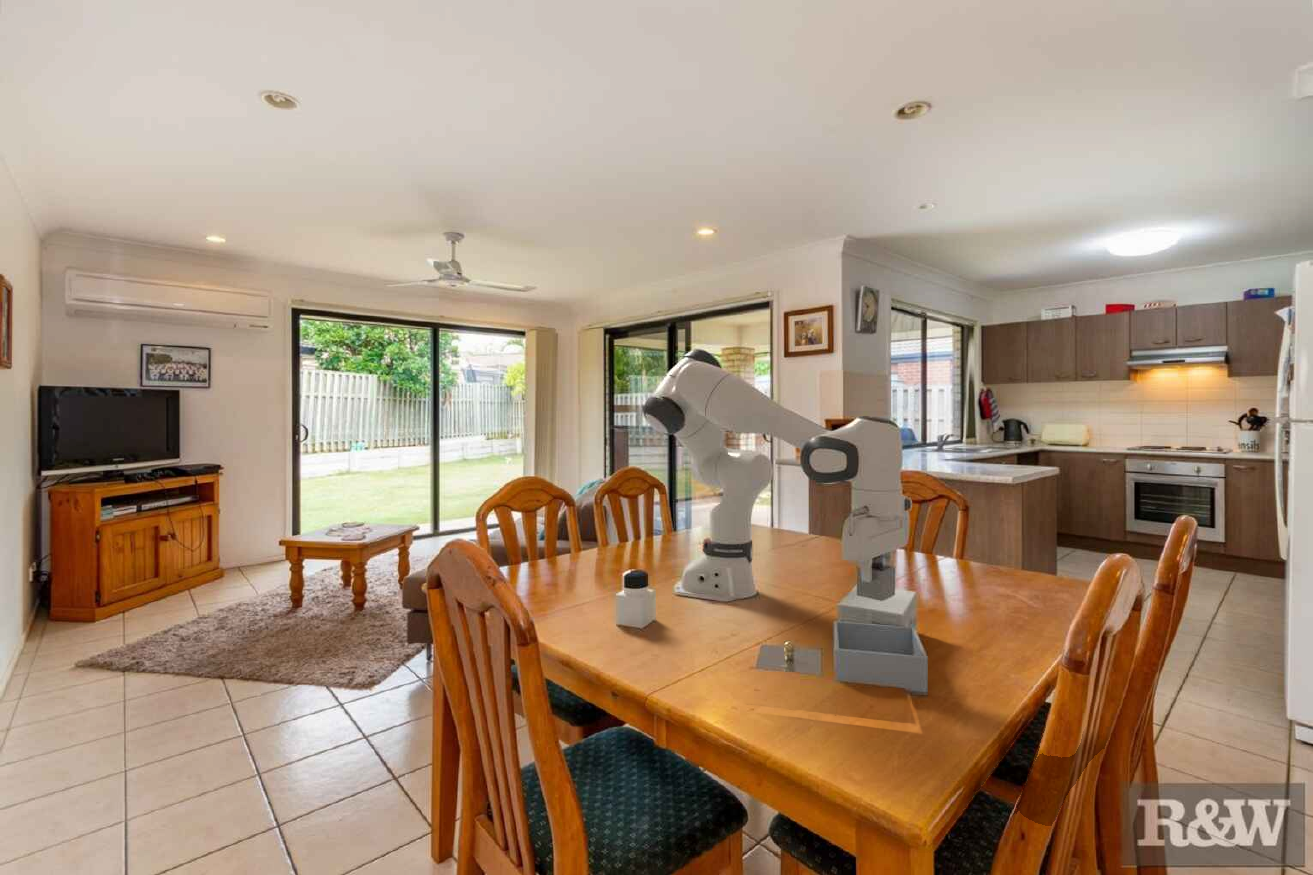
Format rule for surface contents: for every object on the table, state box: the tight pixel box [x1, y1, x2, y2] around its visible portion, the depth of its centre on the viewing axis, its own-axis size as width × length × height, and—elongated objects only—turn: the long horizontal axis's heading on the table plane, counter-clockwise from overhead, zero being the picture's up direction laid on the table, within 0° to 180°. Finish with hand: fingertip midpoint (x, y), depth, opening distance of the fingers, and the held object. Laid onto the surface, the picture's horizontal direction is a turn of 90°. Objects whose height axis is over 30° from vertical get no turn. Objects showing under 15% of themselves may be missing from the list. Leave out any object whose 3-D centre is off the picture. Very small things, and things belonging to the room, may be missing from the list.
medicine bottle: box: [614, 569, 656, 629], centre depth 141 cm, size 7×7×12 cm
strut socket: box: [856, 555, 896, 601], centre depth 112 cm, size 5×5×8 cm
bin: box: [833, 620, 929, 697], centre depth 113 cm, size 15×15×7 cm
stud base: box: [754, 640, 822, 676], centre depth 117 cm, size 12×12×4 cm
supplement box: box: [837, 584, 917, 631], centre depth 130 cm, size 17×13×9 cm
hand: (875, 577), depth 112 cm, fingers closed on strut socket, 5 cm apart
